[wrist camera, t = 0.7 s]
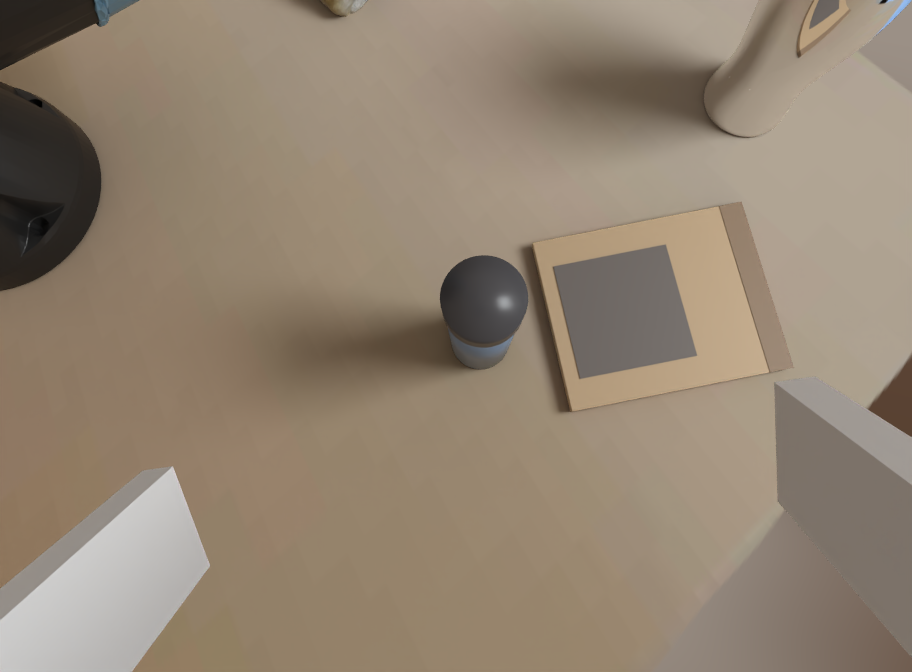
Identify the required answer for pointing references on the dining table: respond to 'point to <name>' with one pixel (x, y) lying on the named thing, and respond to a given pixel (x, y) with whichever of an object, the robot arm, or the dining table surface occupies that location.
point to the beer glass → (789, 57)
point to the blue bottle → (483, 309)
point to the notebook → (659, 306)
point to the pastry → (344, 6)
